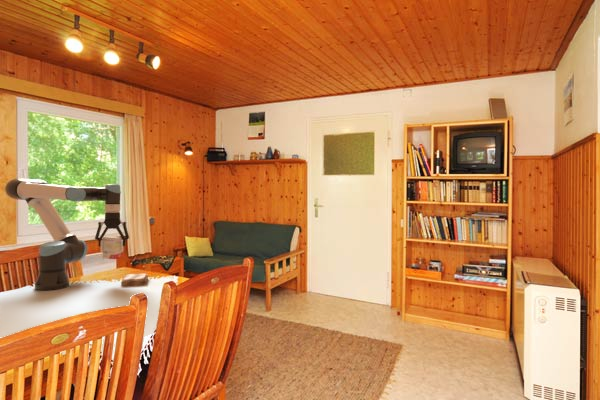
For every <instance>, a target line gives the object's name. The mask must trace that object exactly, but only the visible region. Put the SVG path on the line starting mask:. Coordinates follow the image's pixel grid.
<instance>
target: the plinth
mask: <svg viewBox="0 0 600 400" xmlns="http://www.w3.org/2000/svg"><path fill="white" fill-rule="evenodd" d="M148 277H149V275H148V274H147V273H129V274H125V275H124V277H123V279H122V280H121V287H134V286H135V285H137V286H145V285H144V284H147V282H148V280H147V279H149V278H148ZM135 287H136V286H135Z"/></svg>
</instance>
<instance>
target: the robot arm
mask: <svg viewBox="0 0 600 400" xmlns="http://www.w3.org/2000/svg"><path fill="white" fill-rule="evenodd" d="M4 190H5V193H6V195H7V196H8V197H9V198H11V199H14V200H19V201H20V200H21V201H22V200H24V201H25V202H26V203H27V205H28V206H29V207H32V208H33V209H34V211H35V212H36V213H37V215H38V216H39V218H40V220H41V222H42V223H43V224H44V226H45V228H46V229H47V231H48V233H49V235H50V237H52V239H53V241H48V242H45V243H43V244H41V245H40V246H39V247H38V248H39V249H38V275H37V278H36V281H35V283H34V289H35V290H36V289H39V290H38V291H53V290H52V289H55V290H61V289H65V288H67V287H69V286H70V278H69V277H68V274H67V270H66V267H67V266H66V265H67V264H70V263H76V262H78V261H81V260H83V259H84V258H85V257H86V255H87V254H88V245H87V243H86V242H85V241H84V240H81V239H79V238H78V237H77V235H76V234H74V233H71V232H70V230H69V229H68V227H67V226H66V224H65V222H64V220H63V219H62V217H61V216H60V214H59V213H58V210H56V208H55V206H54V204H53V202H52V201H51V200H58V201H59V200H60V201H70V202H76V203H77V202H78V203H79V202H95V201H96V202H104V203H105V205H104V211H105V213H104V221H98V223H97V224H98V227H97V229H96V230H97V231H96V232H95V233H96V234H95V237H94V240H96V241H98V247H100V253H101V254H103V237H105V235H106V234H107V232H108V230H110V229H113V230H115V229H116V231H117V232H118V234H119V237H121V238H122V240H121V253H123V252H124V247H126V242H127V241H126V240H129V239H130V236H129V232H128V228H127V221H121V194H122V191H121V185H120V184H117V183H116V184H115V183H113V184H112V183H106V184H105V186H103V187H101V186H100V187H99V186H98V187H97V186H96V187H95V186H74V185H73V186H71V185H61V184H60V185H59V184H49V183H48V182H47V181H45V180H43V179H39V178H12V179H11V180H9V181H8V182H6V185H5V189H4ZM120 225H121V226H122V229H123V231H122V230H121V228H120ZM103 226H105V228H104V229H103V231H102V227H103ZM101 231H102V233H101ZM123 232H124V233H123ZM100 233H101V235H100ZM64 287H65V288H64ZM60 288H61V289H60Z"/></svg>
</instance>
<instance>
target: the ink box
mask: <svg viewBox="0 0 600 400" xmlns="http://www.w3.org/2000/svg"><path fill="white" fill-rule="evenodd" d="M102 240H103V252H102V259H105V260H106V259H107V260H118V259H121V258H122V252H121V240H123V239H122V238H121V236H119V237H118V236H104V237H103V238H102Z"/></svg>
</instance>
